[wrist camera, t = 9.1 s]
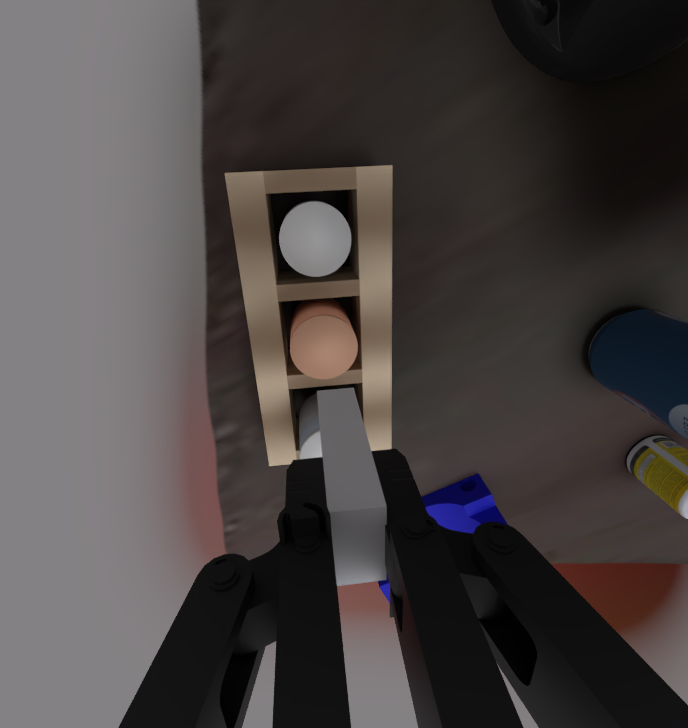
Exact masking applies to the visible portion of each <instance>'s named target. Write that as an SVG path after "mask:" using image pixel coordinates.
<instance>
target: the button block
mask: <svg viewBox="0 0 688 728" xmlns="http://www.w3.org/2000/svg"><path fill="white" fill-rule="evenodd" d="M225 180H226V186H227V193H228V199H229V206H230V212H231V219H232V225H233V232H234V238H235V245H236V251H237V258H238V264H239V271H240V277H241V284H242V290H243V297H244V303H245V310H246V316H247V323H248V329H249V336H250V343H251V349H252V356H253V362H254V369H255V375H256V382H257V388H258V395H259V401H260V408H261V414H262V421H263V427H264V434H265V440H266V447H267V453H268V460H269V466H276V465H285V464H291V463H292V461H293V460H298V459H300V437H299V418H296V415H295V406H294V397H293V389H299V388H310V387H321V386H332V385H343V384H354V383H355V394H356V398H357V401H358V405H359V409H360V412H361V416H362V419H363V423H364V427H365V430H366V434H367V437H368V441H369V445H370V448H371V451H377V450H387V449H391V407H392V165H385V166H364V167H342V168H321V169H300V170H278V171H257V172H235V173H225ZM329 190H347V193H348V219H349V228H350V232H351V248H350V266H345V267H339V268H338V269H337V270H336V271H334V272H333V273H331V274H328V275H325V276H320V277H312V276H307V275H303V274H301V273H299V272H297V271H296V270H285V271H279V264H278V255H277V246H276V237H275V228H274V220H273V211H272V202H271V193H290V192H310V191H329ZM349 296H352V322H353V331H354V333H355V336H356V339H357V343H358V351H357V356H356V358H355V361H354V362H353V364H352V365H351V367H350V368H349V369H348V370H347V371H346V372H344V373H343V374H341V375H339V376H337V377H335V378H331V379H316V378H312V377H309V376H307V375H305V374H304V373H302V372H301V371H300V370H299V369H298V368H297V367H296V366H295V364H294V362H293V360H292V358H291V354H290V350H288V344H287V335H286V326H285V317H284V309H283V301H295V300H308V299H322V298H336V297H349Z"/></svg>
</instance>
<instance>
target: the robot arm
mask: <svg viewBox="0 0 688 728" xmlns="http://www.w3.org/2000/svg"><path fill="white" fill-rule="evenodd" d="M492 2H493V6H494V8H495V11H496V14H497V16H498V18H499V21H500V23H501V25H502V27H503V29H504V31H505V32H506V34H507V36H508V37H509V39H510V40H511V42H512V43H513V45H514V46H515V47H516V48H517V50H518V51H519V52H520V53H521V54H522V55H523V56H524V57H525V58H526V59H527V60H528V61H529V62H530V63H532V64H533V65H534V66H536V67H537V68H538V69H540V70H542V71H543V72H545V73H547V74H549V75H551V76H554V77H556V78H560V79H563V80H567V81H573V82H596V81H602V80H607V79H610V78H614V77H617V76H620V75H622V74H625V73H628V72H631V71H634V70H636V69H639V68H642V67H644V66H647V65H649V64H651V63H653V62H655V61H657V60H659V59H660V58H662V57H664V56H666V55H667V54H669V53H670V52H672V51H674V50H675V49H677V48H678V47H679V46H681V45H682V44H683V43H685V42H686V41H687V40H688V0H492ZM317 400H318V412H319V425H320V437H321V449H322V457H318V458H308V459H298V460H293V461H292V463H291V465H290V466H289V468H288V469H287V477H286V502H285V508H284V509H283V510H282V511H281V512H280V514H279V517H278V520H277V524H278V530H279V537H280V542H279V543H278V544H277V545H276V546H275V547H274V548H273V549H272V550H270V551H269V552H267V553H265V554H263V555H261V556H259V557H256V558H254V559H252V560H249V561H248V560H247V559H246V558H245V557H244V556H241V555H238V554H224V555H222V556H219V557H217V558H214V559H213V560H211V561H210V562H209V563H207V564H206V565H205V566H204V567H203V569H202V570H201V571H200V573H199V574H198V575H197V577H196V579H195V582H194V583H193V585H192V587H191V589H190V591H189V593H188V595H187V597H186V599H185V601H184V603H183V605H182V606H181V608H180V610H179V612H178V614H177V616H176V618H175V620H174V622H173V624H172V626H171V628H170V630H169V632H168V633H167V635H166V637H165V639H164V641H163V643H162V645H161V647H160V649H159V651H158V653H157V654H156V656H155V658H154V660H153V662H152V665H151V666H150V668H149V670H148V672H147V674H146V676H145V678H144V680H143V681H142V683H141V685H140V687H139V689H138V691H137V693H136V695H135V697H134V699H133V701H132V703H131V705H130V707H129V708H128V711H127V712H126V714H125V716H124V718H123V720H122V722H121V724H120V726H119V728H242V725H243V722H244V718H245V715H246V711H247V708H248V704H249V701H250V698H251V694H252V691H253V687H254V684H255V681H256V677H257V674H258V670H259V667H260V663H261V660H262V657H263V653H264V650H265V646H267V645H269V644H271V643H273V642H275V641H276V663H275V684H274V685H275V686H274V706H273V728H351V722H350V713H349V704H348V703H349V702H348V693H347V683H346V673H345V663H344V653H343V643H342V633H341V623H340V613H339V603H338V593H337V586H341V585H350V584H357V583H365V582H373V581H381V580H386V577H387V574H388V578H389V583H390V617H394V619H395V624H396V628H397V633H398V637H399V642H400V646H401V650H402V655H403V660H404V664H405V669H406V673H407V678H408V682H409V687H410V692H411V696H412V701H413V705H414V710H415V714H416V719H417V723H418V728H523V726H522V724H521V721H520V718H519V716H518V714H517V711H516V709H515V706H514V704H513V701H512V699H511V697H510V694H509V692H508V689H507V687H506V685H505V682H504V680H503V677H502V675H501V673H500V671H499V668H498V665H499V667H500V669H501V670H502V672H503V673H504V675H505V676H506V677H507V679H508V681H509V682H510V684H511V685H512V687H513V688H514V690H515V692H516V693H517V695H518V696H519V698H520V699H521V701H522V702H523V704H524V705H525V707H526V708H527V710H528V711H529V713H530V714H531V716H532V718H533V719H534V721H535V722H536V724H537V725H538V727H539V728H688V705H687V704H686V703H685V702H684V701H683V700H682V699H681V698H680V697H679V696H678V695H677V694H676V693H675V692H674V691H673V690H672V689H671V688H670V687H669V686H668V685H667V684H666V682H665V681H664V680H663V679H662V678H661V677H660V676H659V675H658V674H657V673H656V672H655V671H654V670H653V669H652V668H651V667H650V666H649V665H648V664H647V663H646V662H645V661H644V660H643V659H642V658H641V657H640V656H639V655H638V654H637V653H636V652H635V650H634V649H632V647H631V646H630V645H629V644H628V643H627V642H626V641H625V640H624V639H623V638H622V637H621V636H620V635H619V634H618V633H617V632H616V631H615V630H614V629H613V628H612V627H611V626H610V625H609V624H608V623H607V622H606V621H605V620H604V619H603V618H602V617H601V615H600V614H599V613H598V612H597V611H596V610H595V609H594V608H593V607H592V606H591V605H590V604H589V603H588V602H587V601H586V600H585V599H584V598H583V597H582V596H581V595H580V594H579V593H578V592H577V591H576V590H575V589H574V588H573V587H572V586H571V585H570V584H569V582H568V581H566V579H565V578H564V577H563V576H562V575H561V574H560V573H559V572H558V571H557V570H556V569H555V568H554V567H553V566H552V565H551V564H550V563H549V562H548V561H547V560H546V559H545V558H544V557H543V556H542V555H541V554H540V553H539V552H538V550H537V549H536V548H535V547H534V546H533V545H532V544H531V543H530V542H529V541H528V540H527V539H526V538H525V537H524V536H523V535H522V534H521V533H520V532H518V531H517V530H516V529H514V528H513V527H511V526H509V525H506V524H504V523H499V522H493V521H492V522H486V523H482V524H481V525H479V526H477V527H476V529H475V531H474V532H473V534H472V533H466V532H459V531H454V530H450V529H447V528H445V527H443V526H441V525H439V524H438V523H437V521H436V520H435V519H434V518H433V517H431V516H430V515H429V514H428V512H427V510H426V508H425V505H424V503H423V500H422V498H421V495H420V493H419V490H418V488H417V485H416V483H415V480H414V479H413V475H412V473H411V470H410V468H409V465H408V463H407V460H406V457H405V456H403V455H402V454H401V453H400V452H399V451H398V450H397V449H387V450H377V451H371V448H370V445H369V441H368V437H367V434H366V430H365V427H364V423H363V419H362V416H361V412H360V409H359V405H358V401H357V398H356V394H355V391H354V388H344V389H332V390H321V391H317ZM496 662H497V663H496ZM497 664H498V665H497Z"/></svg>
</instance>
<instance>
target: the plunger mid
mask: <svg viewBox="0 0 688 728" xmlns="http://www.w3.org/2000/svg"><path fill="white" fill-rule="evenodd" d="M357 351H358V343H357V339H356V336H355V333H354V331H353V328H352V326H351V323H350V321H349V318H348V316H347V313H346V311H345V309H344V307H343V306H342V305H341V304H340V303H339V302H338V301H336V300H335V299H333V298H322V299H308V300H303V301H302V302H301V303H300V304H299V305H298V306H297V307H296V308H295V310H294V312H293V315H292V318H291V335H290V354H291V358H292V360H293V362H294V364H295V366H296V367H297V368H298V369H299V370H300V371H301V372H302V373H304V374H305V375H307V376H309V377H312V378H316V379H331V378H335V377H337V376H339V375H341V374H343V373H344V372H346V371H347V370H348V369H349V368H350V367H351V365H352V364H353V362H354V361H355V358H356V356H357Z"/></svg>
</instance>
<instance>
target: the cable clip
mask: <svg viewBox="0 0 688 728" xmlns="http://www.w3.org/2000/svg"><path fill="white" fill-rule="evenodd" d="M421 498H422V500H423V503H424V505H425V508H426V510H427V512H428V514H429V515H430V516H431V517H433V518H434V519H435V520H436V521H437V523H438V524H439V525H441V526H443V527H445V528H447V529H450V530H454V531H459V532H466V533H472V534H473V532H474V531H475V529H476V527H477V526H479V525H481V524H482V523H486V522H492V521H493V522H499V523H504V524H506V525H508V524H507V523H506V521H505V519H504V518H503V516H502V515H501V513H500V512H499V510H498V508H497V507H496V505H495V502H494V499H493V497H492V494H491V493H490V491H489V489H488V488H487V486H486V485H485V483H484V482H483V480H482V479H481V477H480V475H479V474H475V475H473V476H471V477H468V478H466V479H464V480H461V481H459V482H456V483H454V484H452V485H449V486H447V487H445V488H442V489H440V490H437V491H435V492H433V493H430V494H428V495H425V496H423V497H421ZM378 583H379V587H380V589H381V590H382V592H383V593H384V595H385V597H386V598H387V600H388V601H389V603H390V583H389V578H388V574H387V577H386V580H381V581H378Z"/></svg>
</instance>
